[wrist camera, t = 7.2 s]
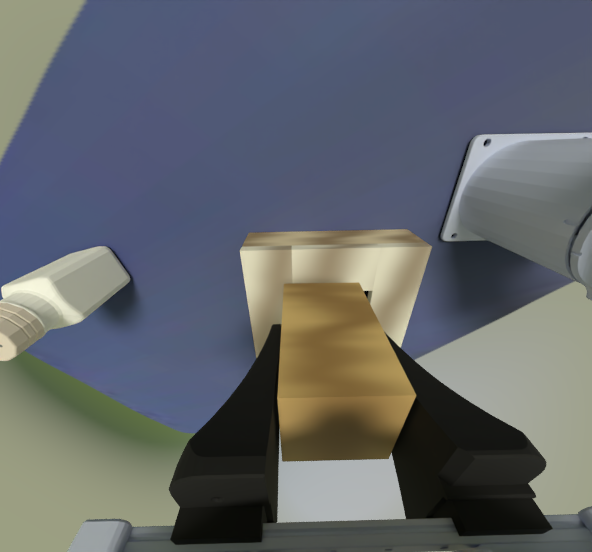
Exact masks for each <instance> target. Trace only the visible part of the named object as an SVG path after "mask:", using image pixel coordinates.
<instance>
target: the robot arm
mask: <svg viewBox="0 0 592 552" xmlns="http://www.w3.org/2000/svg"><path fill="white" fill-rule="evenodd" d="M486 139H487V143H486V145H485V146H484V145H483V144H484V141H485V140H486ZM454 233H455V234H454ZM452 234H454V236H453V237H451V236H452ZM440 237H441V239H442V240H444V241H483V240H488V241H490V242H492V243H495V244H497V245H499V246H501V247H503V248H505V249H508V250H510V251H512V252H514V253H516V254H518V255H521V256H523V257H525V258H527V259H529V260H531V261H533V262H536V263H538V264H540V265H542V266H544V267H546V268H549V269H551V270H553V271H555V272H557V273H559V274H561V275H564V276H566V277H568V278H570V279H572V280H574V281H577V282H579V283H582V284H583V285H584V286H585V287H586V289H587V296H586V297H587V298H588V299H590V300H592V133H547V134H493V135H477V136H475V137H474V138H473V139H472V140H471V142H470V145H469V148H468V151H467V155H466V158H465V161H464V164H463V167H462V170H461V173H460V176H459V179H458V182H457V186H456V189H455V192H454V195H453V198H452V201H451V204H450V207H449V210H448V214H447V217H446V220H445V223H444V226H443V229H442V232H441V236H440ZM281 325H282V324H273V325H272V326H271V329H270V332H269V335H268V337H267V339H266V342H265V344H264V346H263V348H262V350H261V352H260V354H259V355H258V357H257V359H256V360H255V362H254V364H253V366H252V367H251V369H250V370H249V372H248V373H247V375H246V376H245V378H244V379H243V381H242V382H241V383H240V385H239V386H238V387H237V389H236V390H235V391H234V393H233V394H232V395H231V396H230V398H229V399H228V400H227V401H226V402H225V404H224V405H223V406H222V407H221V408H220V409H219V410H218V411H217V412H216V414H215V415H214V416H213V417H212V418H211V419H210V420H209V421H208V422H207V423H206V424H205V425H204V426H203V427H202V428H201V429H200V430H199V431H198V432H197V433H196V434H195V435H194V436H193V437H192V438H191V439H190V440H189V442H188V443H187V445H186V447H185V449H184V451H183V453H182V455H181V458H180V460H179V462H178V464H177V467H176V470H175V473H174V476H173V478H172V481H171V484H170V487H169V491H170V493H171V495H172V497H173V498H174V500H175V501H176V502H177V504H178V505H179V506H180V510H179V513H178V516H177V519H176V522H175V526H150V527H132V525H131V524H130V523H129V522H128V521H126V520H121V519H99V520H98V519H95V520H86V521H85V522H83V524H82V526H81V527H80V529H79V531H78V533H77V535H76V537H75V538H74V540H73V542H72V544H71V545H70V547H69V549H68V551H67V552H428V551H453V552H592V506H591V507H587V508H585V509H583V510H581V511H580V512H578V514H571V515H570V514H569V515H543V514H542V512H541V510H540V509H539V507H538V506H537V505H536V503H535V502H534V500H533V499H532V498H535V497H536V495H535V493H534V491H533V490H532V489H531V487H530V486H529V484H528V483H529V482H530V481H531V480H533V479H534V478H535V477H537V476H538V475H539V474H540V473H542V471H543V470H545V467H546V461H545V459H544V458H543V456H542V455H541V454H540V453H539V452H538V450H537V449H536V448H535V447H534V445H533V444H532V443H531V442H530V440H529V439H528V438H527V437H526V436H525V435H524V433H523V432H521V431H519V430H517V429H516V428H514V427H512V426H510V425H508V424H506V423H505V422H503V421H501V420H499V419H497V418H495V417H494V416H492V415H490V414H489V413H487V412H485V411H484V410H482V409H480V408H479V407H477V406H475V405H474V404H472V403H470V402H469V401H468V400H466V399H464V398H463V397H461V396H460V395H458V394H457V393H455V392H454V391H453V390H451V389H449V388H448V387H447V386H445V385H444V384H443V383H441V382H440V381H439V380H437V379H436V378H435V377H433V376H432V375H431V374H430V373H428V372H427V371H426V370H425V369H423V368H422V367H421V366H420V365H419V364H417V363H416V362H415V361H414V360H413V359H412V358H411V357H410V356H409V355H407V354H406V353H405V352H404V351H403V350H402V349H401V348H400V347H399V346H398V345H397V344H396V343H395V342H394V341H393V340H392V339H391V338H390V337H389V336H388V335H387V334H386V333H385V334H386V336H387V338H388V340H389V342H390V344H391V346H392V348H393V350H394V352H395V354H396V356H397V358H398V360H399V362H400V364H401V366H402V368H403V370H404V372H405V374H406V376H407V378H408V380H409V382H410V384H411V386H412V388H413V390H414V392H415V393H416V397H415V400H414V402H413V404H412V407H411V409H410V411H409V413H408V416H407V418H406V420H405V422H404V425H403V427H402V429H401V431H400V434H399V436H398V438H397V440H396V443H395V445H394V447H393V450H392V456H393V460H394V465H395V469H396V473H397V477H398V482H399V487H400V491H401V496H402V501H403V506H404V510H405V516H406V519H395V520H361V521H326V522H291V523H290V522H289V523H276V522H277V507H278V462H279V460H278V459H279V427H280V425H279V412H278V400H277V396H278V378H279V361H280V343H281Z"/></svg>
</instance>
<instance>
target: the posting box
mask: <svg viewBox="0 0 592 552" xmlns="http://www.w3.org/2000/svg"><path fill="white" fill-rule="evenodd" d="M431 248H432V246H430V245H429V244H428V243H426V242H425V241H423V240H422V239H420V238H419V237H417V236H416V235H415V234H413V233H412V232H410V231H409V230H407V229H398V230H352V231H307V232H261V233H249V234H248V236H247V238H246V240H245V242H244V244H243V246H242V248H241V250H240V255H241V262H242V268H243V275H244V281H245V287H246V294H247V300H248V307H249V313H250V320H251V326H252V333H253V339H254V346H255V352H256V359H257V357H258V355H259V354H260V352H261V350H262V348H263V346H264V344H265V342H266V339H267V337H268V335H269V332H270V329H271V326H272V325H273V324H282V307H283V290H284V284H288V283H357V282H359V283H360V285H361V287H362V289H363V291H369V292H368V298H367V299H368V301H369V303H370V305H371V307H372V309H373V311H374V313H375V315H376V317H377V319H378V321H379V323H380V325H381V327H382V329H383V331H384V332H385V333H386V334H387V335H388V336H389V337H390V338H391V339H392V340H393V341H394V342H395V343H396V344H397V345H398V346H399V347H400V348H401V345H402V342H403V338H404V335H405V332H406V329H407V325H408V322H409V319H410V316H411V313H412V309H413V306H414V303H415V300H416V296H417V293H418V290H419V287H420V284H421V280H422V277H423V274H424V271H425V267H426V264H427V261H428V258H429V254H430V251H431Z"/></svg>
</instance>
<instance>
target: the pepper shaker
mask: <svg viewBox="0 0 592 552" xmlns="http://www.w3.org/2000/svg"><path fill="white" fill-rule="evenodd" d="M129 282H130V276H129V274H128V273H127V272H126V270H125V269H124V267H123V266H122V265H121V263H120V262H119V260H118V259H117V258H116V256H115V255H114V253H113V252H112V251H111V249H109V248H108V247H105V246H98V247H95V248H91V249H87V250H83V251H79V252H75V253H71V254H69V255H67V256H65V257H63V258H60V259H58V260H56V261H54V262H52V263H50V264H48V265H46V266H44V267H42V268H39V269H37V270H35V271H33V272H31V273H29V274H27V275H25V276H23V277H20V278H18V279H16V280H14V281H12V282H10V283H8V284H6V285H4V286H2V288H1V291H2V297H3V298H4V299H3V300H1V301H0V361H8V360H10V359H12V358H14V357H16V356H17V355H18V354H20V353H21V352H22V351H24V350H25V349H27V348H28V347H29V346H31V345H32V344H33V343H35V341H37V340H39V339H40V338H42V337H43V336H44V335H45V334H46V332H47V331H48V330H50V329H56V328H62V327H66V326H69V325H73V324H76V323H79V322H81V321H82V320H84V319H85V318H86V317H87V316H89V315H90V314H91V313H92V312H93V311H95V310H96V309H97V308H98V307H99V306H101V305H102V304H103V303H104V302H106V301H107V300H108V299H109V298H110V297H112V296H113V295H114V294H115V293H116V292H118V291H119V290H120V289H121V288H123V287H124V286H125V285H126V284H127V283H129Z"/></svg>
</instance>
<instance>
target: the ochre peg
mask: <svg viewBox="0 0 592 552" xmlns="http://www.w3.org/2000/svg"><path fill="white" fill-rule="evenodd" d="M415 397H416V393H415V392H414V390H413V388H412V386H411V384H410V382H409V380H408V378H407V376H406V374H405V372H404V370H403V368H402V366H401V364H400V362H399V360H398V358H397V356H396V354H395V352H394V350H393V348H392V346H391V344H390V342H389V340H388V338H387V336H386V334H385V332H384V331H383V329H382V327H381V325H380V323H379V321H378V319H377V317H376V315H375V313H374V311H373V309H372V307H371V305H370V303H369V301H368V299H367V297H366V295H365V293H364V291H363V289H362V287H361V285H360V283H359V282H357V283H288V284H284V290H283V307H282V325H281V343H280V361H279V378H278V396H277V400H278V412H279V425H280V437H281V450H282V461H319V460H362V459H389V456H390V454H391V452H392V450H393V447H394V445H395V443H396V440H397V438H398V436H399V434H400V431H401V429H402V427H403V425H404V422H405V420H406V418H407V416H408V413H409V411H410V409H411V407H412V404H413V402H414V400H415Z"/></svg>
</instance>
